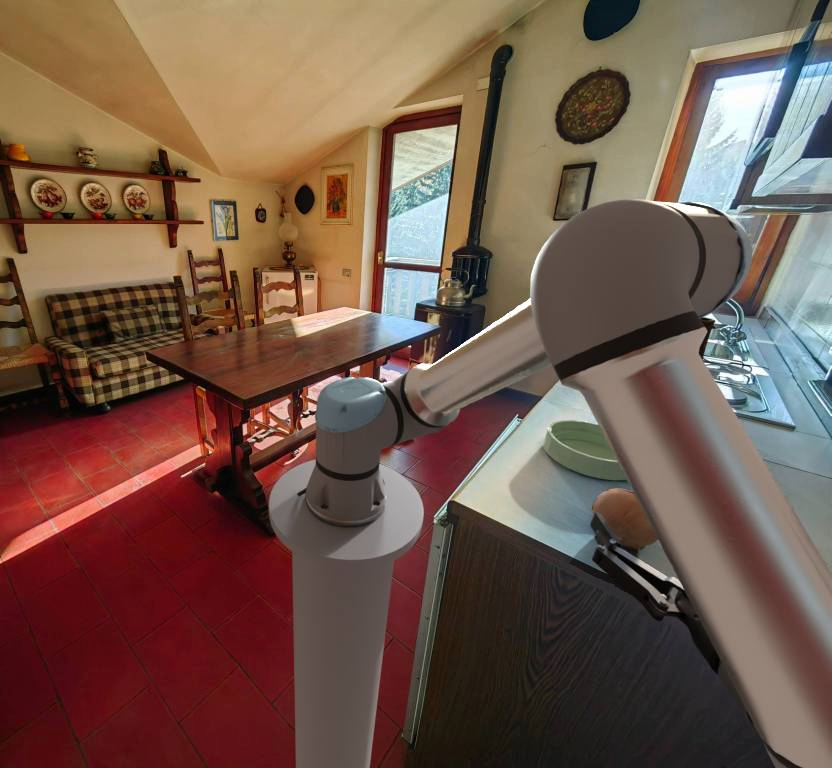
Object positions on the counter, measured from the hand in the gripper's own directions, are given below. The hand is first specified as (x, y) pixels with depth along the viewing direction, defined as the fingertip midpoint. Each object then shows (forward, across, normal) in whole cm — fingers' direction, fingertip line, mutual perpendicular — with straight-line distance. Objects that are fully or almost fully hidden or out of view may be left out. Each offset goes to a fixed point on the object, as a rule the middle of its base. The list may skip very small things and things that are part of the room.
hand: (642, 525), depth 61 cm
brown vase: (+57, +37, -6) cm, 68 cm away
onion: (+4, 0, -6) cm, 7 cm away
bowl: (+29, +6, -6) cm, 31 cm away
